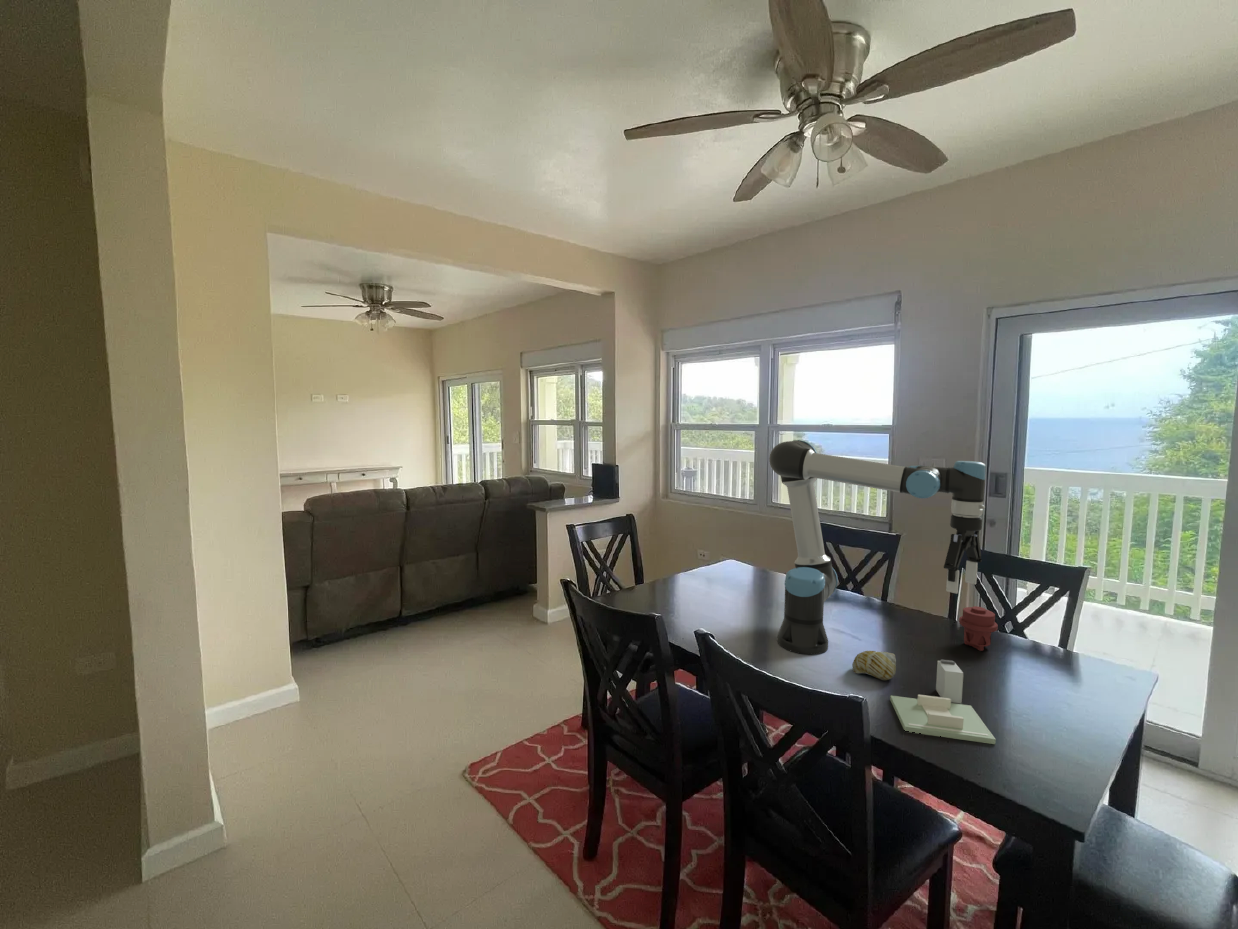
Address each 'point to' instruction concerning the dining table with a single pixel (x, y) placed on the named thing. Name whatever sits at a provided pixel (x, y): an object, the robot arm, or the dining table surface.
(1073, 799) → the dining table surface
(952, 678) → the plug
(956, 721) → the board
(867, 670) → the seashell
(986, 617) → the mechanical component
